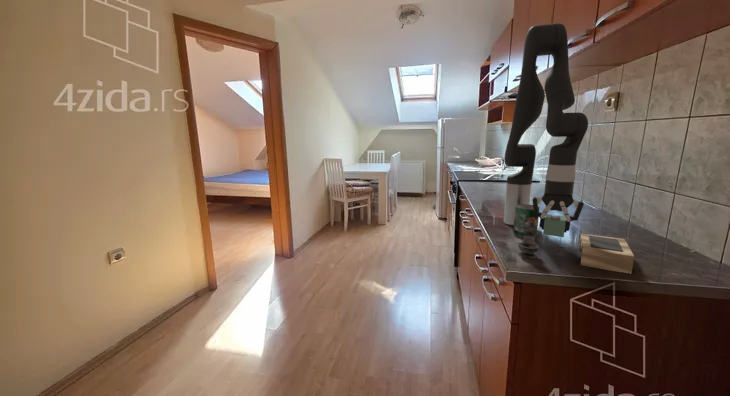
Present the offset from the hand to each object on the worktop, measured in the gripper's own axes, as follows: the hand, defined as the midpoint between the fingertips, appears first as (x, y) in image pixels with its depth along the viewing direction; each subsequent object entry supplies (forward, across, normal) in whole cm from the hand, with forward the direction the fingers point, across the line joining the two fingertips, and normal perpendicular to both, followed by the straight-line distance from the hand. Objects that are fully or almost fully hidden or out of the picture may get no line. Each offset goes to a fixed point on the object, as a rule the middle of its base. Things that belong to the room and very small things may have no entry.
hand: (553, 230), depth 97 cm
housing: (+1, 0, 0) cm, 1 cm away
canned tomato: (+7, +9, -12) cm, 16 cm away
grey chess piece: (+6, +6, +11) cm, 14 cm away
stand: (+6, -13, +3) cm, 15 cm away
